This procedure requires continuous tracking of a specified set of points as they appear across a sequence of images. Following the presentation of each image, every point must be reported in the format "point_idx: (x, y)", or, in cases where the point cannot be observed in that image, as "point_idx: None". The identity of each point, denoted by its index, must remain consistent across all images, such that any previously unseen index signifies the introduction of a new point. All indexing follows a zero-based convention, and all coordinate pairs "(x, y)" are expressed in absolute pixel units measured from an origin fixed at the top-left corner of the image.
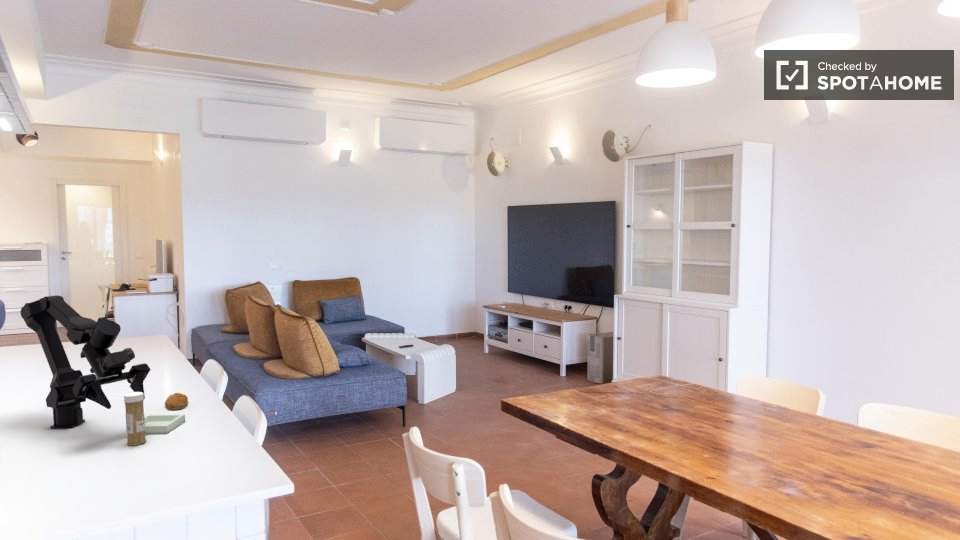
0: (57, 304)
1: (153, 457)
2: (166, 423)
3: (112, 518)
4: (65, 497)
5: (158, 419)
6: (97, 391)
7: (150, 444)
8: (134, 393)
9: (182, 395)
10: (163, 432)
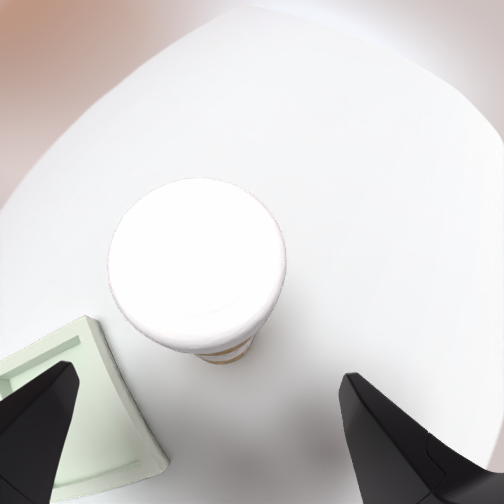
0: None
1: (277, 163)
2: None
3: (417, 68)
4: (462, 151)
5: None
6: (472, 467)
7: None
8: (182, 251)
9: None
10: (100, 333)
